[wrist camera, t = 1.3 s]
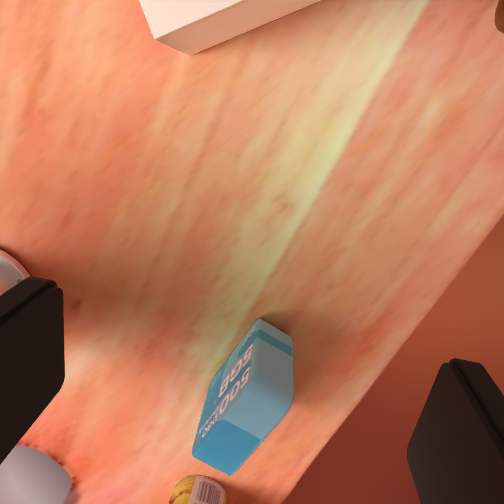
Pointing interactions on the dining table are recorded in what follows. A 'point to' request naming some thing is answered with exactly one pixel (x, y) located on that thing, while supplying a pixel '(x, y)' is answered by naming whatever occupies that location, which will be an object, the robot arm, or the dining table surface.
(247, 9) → the mailer box
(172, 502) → the canned food
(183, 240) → the dining table surface
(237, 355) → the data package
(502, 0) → the mug
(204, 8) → the flap
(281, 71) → the dining table surface
